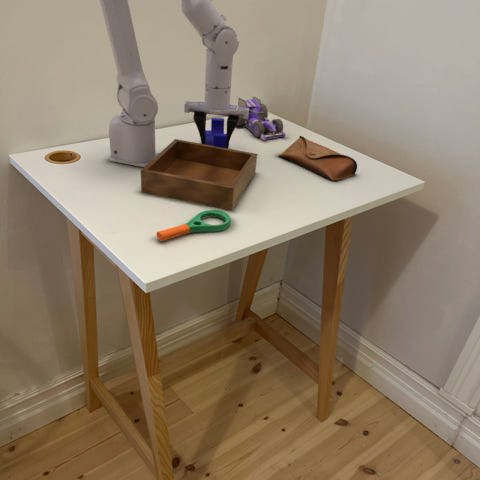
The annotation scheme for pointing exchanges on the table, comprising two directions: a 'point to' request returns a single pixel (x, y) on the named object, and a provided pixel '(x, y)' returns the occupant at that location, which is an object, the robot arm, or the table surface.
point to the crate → (199, 174)
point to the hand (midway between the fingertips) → (214, 146)
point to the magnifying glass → (196, 225)
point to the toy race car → (260, 120)
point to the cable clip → (216, 133)
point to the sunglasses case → (320, 159)
